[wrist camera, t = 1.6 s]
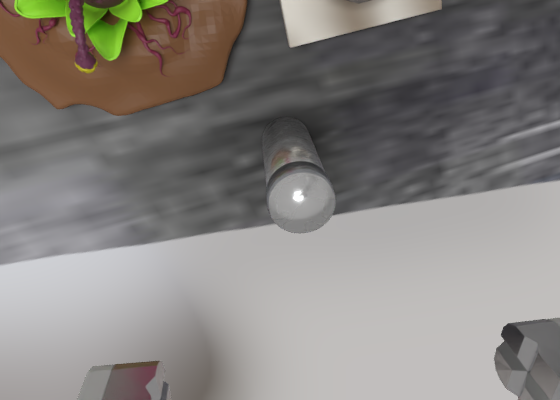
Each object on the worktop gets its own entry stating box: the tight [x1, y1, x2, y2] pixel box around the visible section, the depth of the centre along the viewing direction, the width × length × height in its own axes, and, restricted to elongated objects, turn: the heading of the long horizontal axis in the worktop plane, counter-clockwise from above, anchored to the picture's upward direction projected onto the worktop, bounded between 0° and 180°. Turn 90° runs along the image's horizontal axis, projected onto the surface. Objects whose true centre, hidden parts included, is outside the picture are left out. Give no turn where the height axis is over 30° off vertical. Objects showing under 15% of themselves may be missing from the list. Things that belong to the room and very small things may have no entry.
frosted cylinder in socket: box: [262, 117, 336, 233], centre depth 32 cm, size 5×5×12 cm
